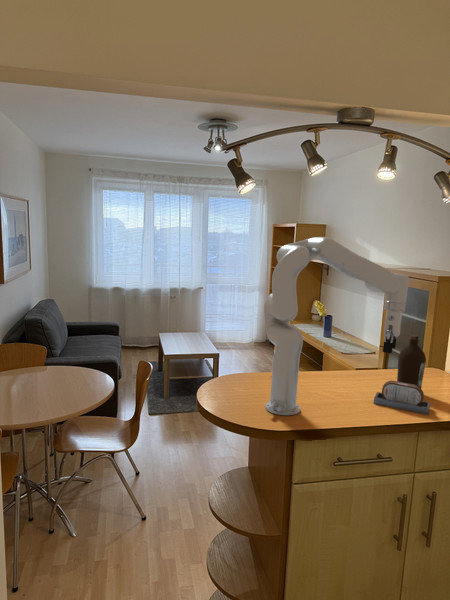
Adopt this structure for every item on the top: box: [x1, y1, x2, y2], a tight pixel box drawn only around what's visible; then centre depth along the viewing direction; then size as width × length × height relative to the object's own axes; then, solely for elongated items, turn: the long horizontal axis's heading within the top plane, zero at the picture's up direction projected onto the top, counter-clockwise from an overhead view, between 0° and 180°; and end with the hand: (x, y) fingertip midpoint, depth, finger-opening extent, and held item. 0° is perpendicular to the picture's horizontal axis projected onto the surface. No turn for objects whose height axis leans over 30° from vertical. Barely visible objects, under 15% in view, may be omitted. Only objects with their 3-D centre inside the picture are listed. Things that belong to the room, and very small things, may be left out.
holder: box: [373, 391, 431, 416], centre depth 167 cm, size 8×20×2 cm, turn 62°
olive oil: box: [396, 334, 427, 389], centre depth 181 cm, size 11×11×25 cm
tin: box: [381, 380, 425, 406], centre depth 166 cm, size 15×3×8 cm, turn 62°
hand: (389, 350), depth 165 cm, fingers open, 9 cm apart
